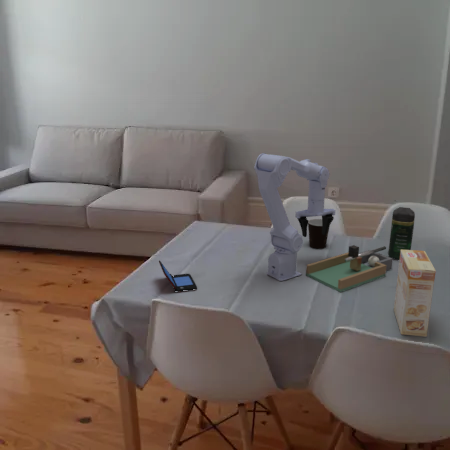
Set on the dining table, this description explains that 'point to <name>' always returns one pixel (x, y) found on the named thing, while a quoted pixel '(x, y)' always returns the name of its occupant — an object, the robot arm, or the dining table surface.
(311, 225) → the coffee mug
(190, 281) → the handheld game console
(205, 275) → the dining table surface
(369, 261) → the ball
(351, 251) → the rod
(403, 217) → the coffee jar
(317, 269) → the pitch
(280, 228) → the robot arm
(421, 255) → the coffeecake box
